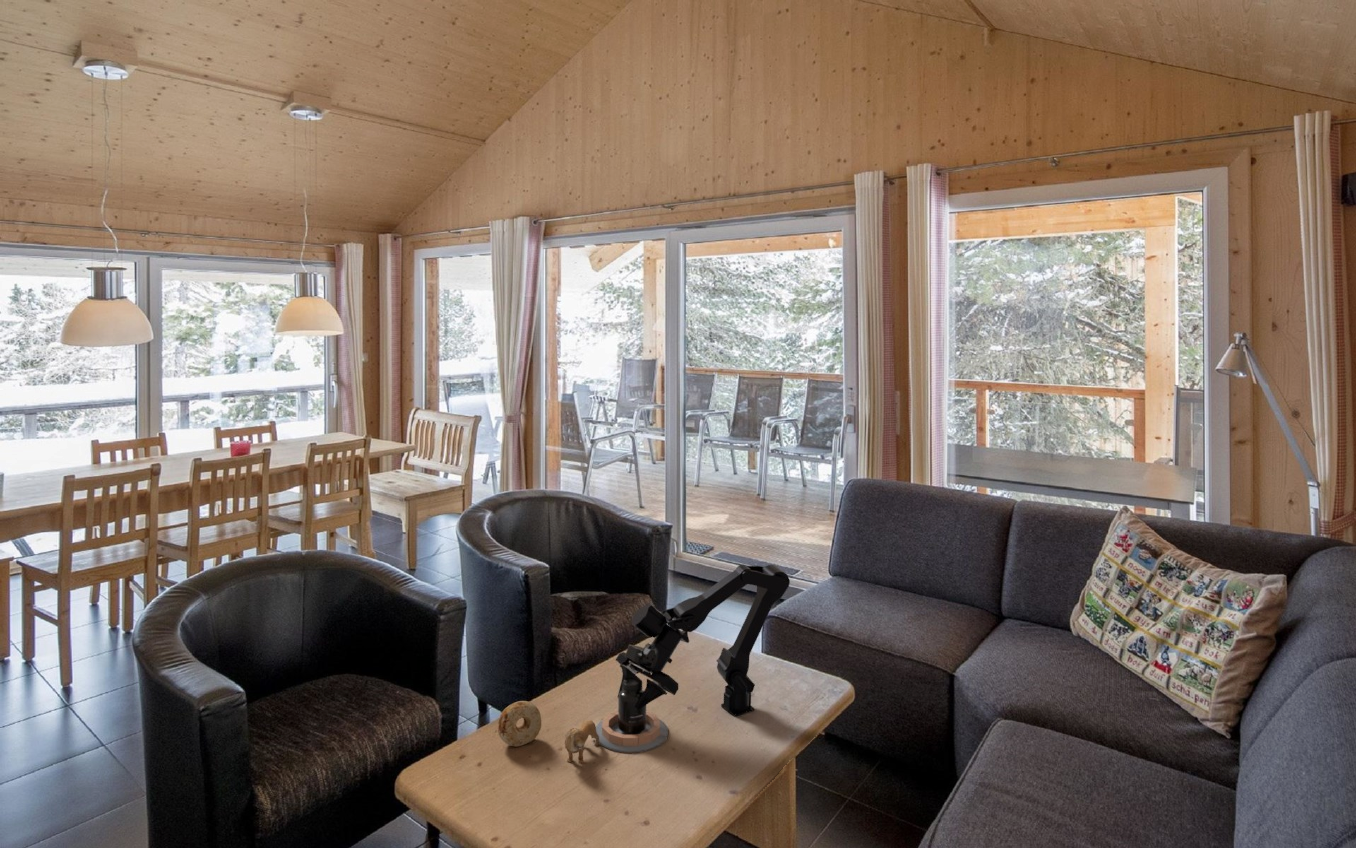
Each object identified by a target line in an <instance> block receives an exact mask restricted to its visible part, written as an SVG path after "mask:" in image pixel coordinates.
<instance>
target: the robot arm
mask: <svg viewBox="0 0 1356 848" xmlns="http://www.w3.org/2000/svg"><path fill="white" fill-rule="evenodd" d="M790 583H791V580H790V577H789V576H788V574H787V573H786V572H785V571H783V570H782V569H780V568H779V567H778V566H776V565H775V564H768V565H765V566H762V565H746V564H740V565H738V566H737V567H736V568H735V569H734V570H733V571H731V572H730V573H729V574H728V575H726V576H724V577H723V578H722V579H720V580H719V581H718V582H716V583H715V584H714V585H712V586H711V587H709V588H708V589H706V590H705V591H704V592H702V593H701V594H699V595H698V596H694V597H690V598H687V599H685V600H683V601H681V602H679V603H677V604H676V605H675V606H674V607H671V608H667V609H664V610H659V609H658V608H656V607H655V606H654V604H652V603H651V602H647V604H646V605H644V606H641V608H639V609H637V610H636V612H635V613H634V614H633V616H632V618H631V622H630V623H631V625H632V626H633V627H634V628H636V629H637V630H638V631H639V632H641V633H642V634H644V636H646V637H647V638H653V641H652V642H651V644H650V643H646V644H645V646H644V647H642V646H638V645H633V644H628V645H627V646H628V647H627V649H626V652H624V651H623V652H619V653H618V656H617V657H616V658H615V662H617V663H618V664H619V668H621V673H622V675H621V676H622V677H621V683H620V686H619V689H618V690H619V691H618V693H617V698H618V697H619V693H620V692H621V691H622V690H623V689H622V686H623V680H624V679H626V678H632V677H633V678H639V679H641V678H640V677H639V676H638V675H637V674H641V675H643V676H645V677H647V678H646V686H645V688H644V690H643V691H644V692H643V694H642V695H641V697H640V699H639V701H638V702H637V705H636V707H635V708H636V709H637V710H639V709H641V708H642V707H644V706H645V705H646V706H647V705H649V703H651V702H652V701H654V700H656V699H658V698H660V697H662V696H663V695H665V696H667V695H668V694H669V693H670V694H671V695H672V696H676V693H677V691H679V683H678V682H677V681H676V680H675V679H673V677H672V676H670V675H669V674H667V673H666V672H663V670H664V669H665V667H666V665H667V664H668V663H669V664H672V662H673V659H672V658H671V657H672V655H673V653H674V652H675V650H676V649H677V648H678V646H679V643H680V642H683V643H687V644H689V643H690V639H689V635H688V633H692V632H694V631H696V630H697V629H698V628H699V627H700V626H701V625H702V624H703V623H704V622H705V620H706V619H707V617H708V615H709V614H710V613H711V612H712V610H714V609H716V608H717V607H718V606H719V605H721V604H722V603H723V602H725V601H727V600H728V599H730V598H731V597H732V596H733V595H735V594H736V593H737V592H739V591H740V590H742V588H744V587H746V586H747V585H751V586H752V585H753V586H755V587H756V595H755V598H754V600H753V601H752V604H751V607H750V608H749V611H748V613H747V615H746V617H745V619H744V622H743V623H742V626H741V627H740V628H741V629H739V632H738V634H737V636H736V639H735V641H734V643H733V645H732V646H731V647H729V648H725V647H723V648H722V649H721V652H720V656H719V657H718V658H717V659H716V662H717V664H716V669H717V672H718V673H719V675H720V676H721V677H722V679H723V681H725V683H726V684H727V685H725V687H724V692H723V703H721V705H720V706H721V708H723V709H724V710H725V711H727V712H728V713H730V714H731V715H733V716H734V717H737V716H741V715H744V714H746V713H750V712H753V711H755V707H754V706H752V693H753V691H754V689H755V686H756V684H755V683H754V681H752V680H751V679H750V677H749V676H748V673H749V669H750V668H749V667H750V655H751V653H752V650H753V648H754V646H755V644H756V641H757V640H758V637H759V636H760V633H761V632H762V629H763V627H764V625H765V623H766V620H767V618H768V616H769V615H770V611H771V609H772V607H773V606H774V605H775V604H776V603H777V602H778V601H779V600H781V598H783V597H784V594H785V593H786V591H787V590H788V588H789V586H790Z"/></svg>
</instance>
